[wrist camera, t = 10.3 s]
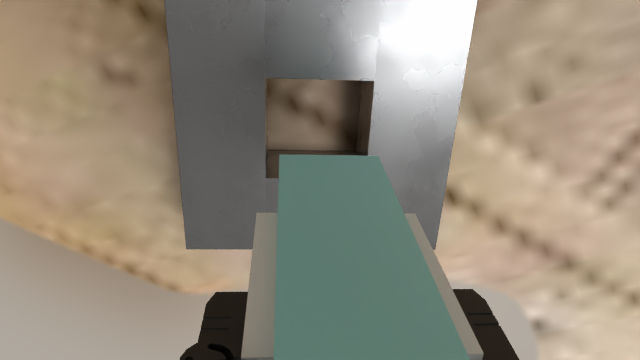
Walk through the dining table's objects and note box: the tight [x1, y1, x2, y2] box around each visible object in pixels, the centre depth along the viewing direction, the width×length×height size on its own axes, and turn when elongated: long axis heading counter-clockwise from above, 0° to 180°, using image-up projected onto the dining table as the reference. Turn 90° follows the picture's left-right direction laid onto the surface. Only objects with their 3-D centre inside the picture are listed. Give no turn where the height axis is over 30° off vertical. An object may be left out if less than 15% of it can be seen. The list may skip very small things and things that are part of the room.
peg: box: [274, 154, 470, 360], centre depth 15 cm, size 4×4×12 cm
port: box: [164, 0, 477, 250], centre depth 30 cm, size 16×16×4 cm
